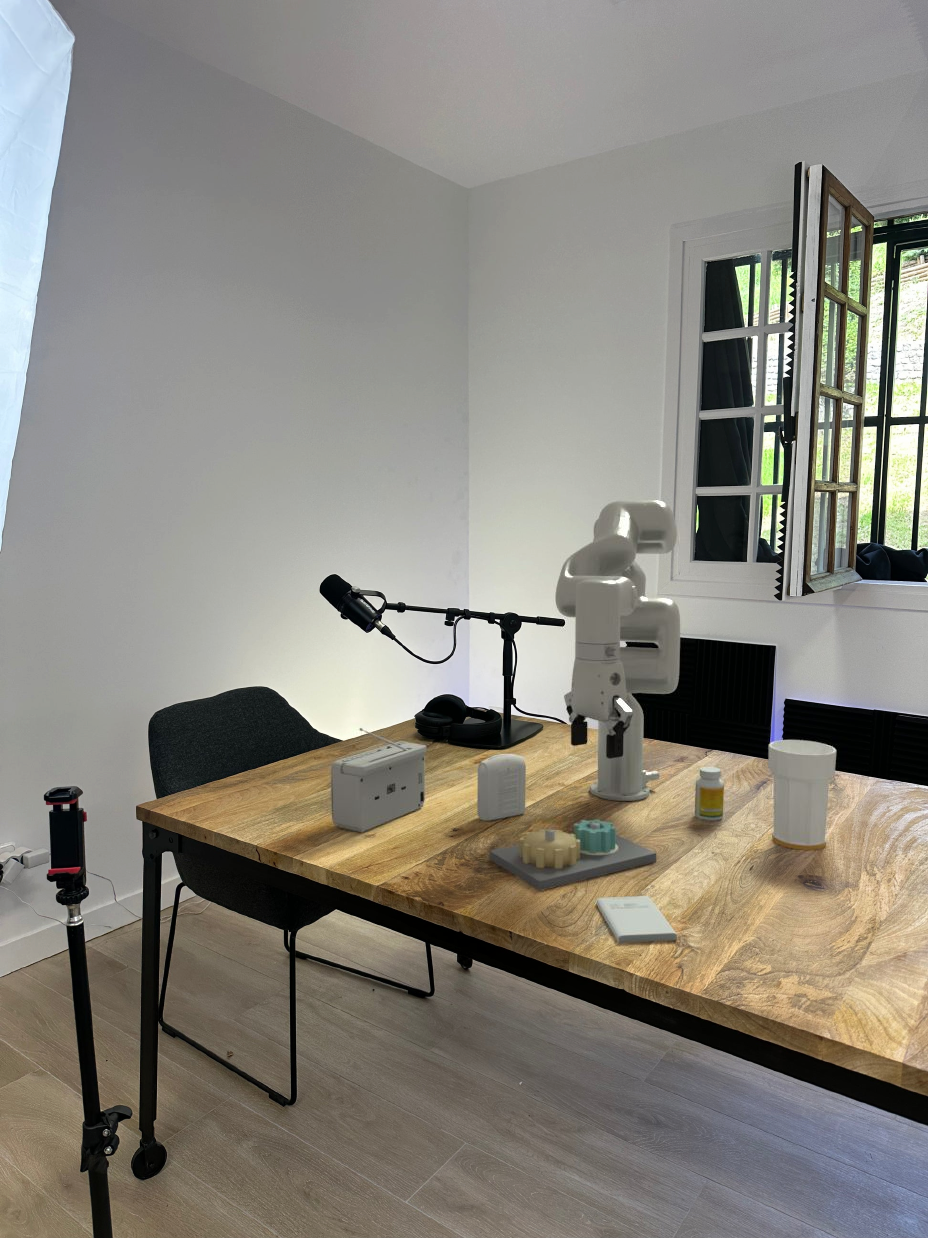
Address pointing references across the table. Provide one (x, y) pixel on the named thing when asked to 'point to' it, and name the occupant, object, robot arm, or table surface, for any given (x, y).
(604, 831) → the teal gear
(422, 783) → the stereo radio cassette player
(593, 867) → the gear board
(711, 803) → the supplement bottle
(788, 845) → the cup
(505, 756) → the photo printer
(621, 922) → the external hard drive
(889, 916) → the table surface
